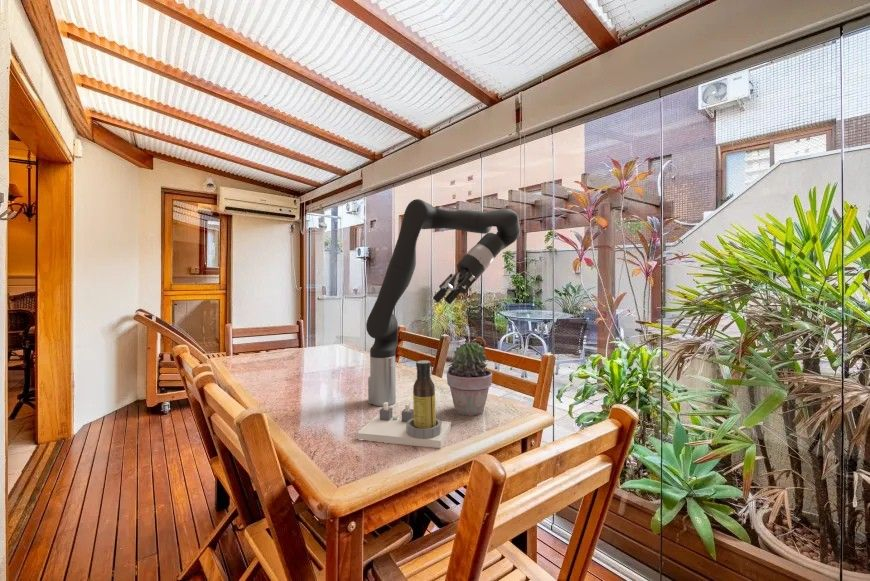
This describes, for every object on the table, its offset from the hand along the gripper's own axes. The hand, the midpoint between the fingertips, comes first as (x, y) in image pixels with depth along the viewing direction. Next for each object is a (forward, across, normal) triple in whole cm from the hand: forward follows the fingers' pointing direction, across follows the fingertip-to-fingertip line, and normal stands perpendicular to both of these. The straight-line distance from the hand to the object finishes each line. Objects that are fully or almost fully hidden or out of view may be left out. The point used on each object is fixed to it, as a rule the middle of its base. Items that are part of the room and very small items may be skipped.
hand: (440, 301), depth 110 cm
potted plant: (+16, -13, +39) cm, 44 cm away
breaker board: (+34, -3, +20) cm, 40 cm away
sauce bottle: (+30, +2, +22) cm, 37 cm away
